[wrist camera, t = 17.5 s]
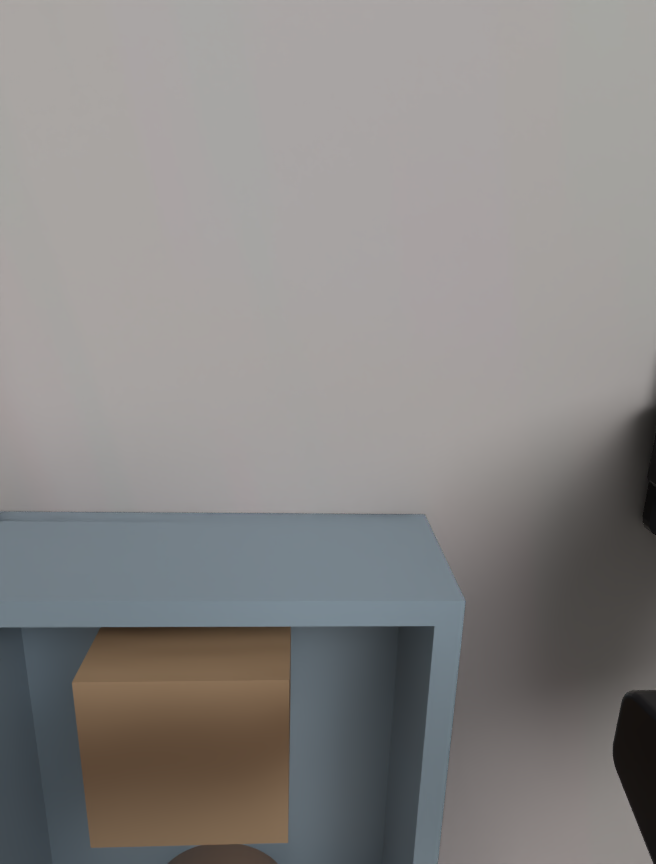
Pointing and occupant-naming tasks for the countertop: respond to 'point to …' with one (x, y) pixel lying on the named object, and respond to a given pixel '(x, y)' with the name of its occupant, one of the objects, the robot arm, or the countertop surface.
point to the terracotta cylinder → (223, 855)
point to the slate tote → (240, 607)
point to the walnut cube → (185, 735)
